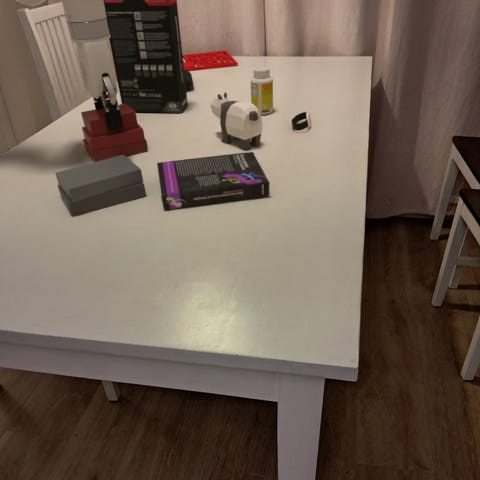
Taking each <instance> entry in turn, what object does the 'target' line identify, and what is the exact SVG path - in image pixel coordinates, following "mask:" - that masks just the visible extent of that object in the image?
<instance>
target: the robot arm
mask: <svg viewBox="0 0 480 480" xmlns="http://www.w3.org/2000/svg"><path fill="white" fill-rule="evenodd" d="M46 1H47V0H15V2H17V3H19V4H21V5H24V6H27V7H36V6H39V5H41V4H44V3H45V2H46ZM61 3H62V8H63V12H64V15H65V19H66V20H65V21H66V23H67V27H68V32H69V36H70V39H71V40H70V41H71V42H72V43H75V46H76V53H77V58H78V62H79V67H80V72H81V78H82V81H83V86H84V89H85V90H86V92H87V93H88V94H90V95H91V96H92V99H93V104H94V105H93V106H94V110H95V109H100V108H105V112H104V114H105V119H106V123H107V127H108V130H109V131H110V132H112V131H116V130H121V129H123V123H122V119H121V114H120V109H119V105H120V104H119V102H118V97H117V95H118V93H119V87H118V82H117V77H116V72H115V66H114V62H113V58H112V54H111V50H110V48H109V47H110V46H109V45H108V40H109V38H111V35H110V30H109V25H108V20H107V16H106V11H105V6H104V1H103V0H61Z"/></svg>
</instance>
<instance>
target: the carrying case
mask: <svg viewBox="0 0 480 480" xmlns="http://www.w3.org/2000/svg"><path fill="white" fill-rule="evenodd" d="M184 74H185V83H186V92H188V91H191V90H192V89H193V87H194V80H193V76H192V75H193V74H192V73H191V72H190V70H184Z"/></svg>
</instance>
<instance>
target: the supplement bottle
mask: <svg viewBox="0 0 480 480" xmlns="http://www.w3.org/2000/svg"><path fill="white" fill-rule="evenodd" d="M270 71H271V70H270V67H267V66H256V67H254V68H253V74H252V75H253V76H252V77H251V78H250V103H252V104H254V105H255V106H256V107H257V109H258V110H259V112H260V114H261V116H266V115H270V114H272V112H274V78H273V76H271V75H270V74H271V72H270Z"/></svg>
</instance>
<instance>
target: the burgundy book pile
mask: <svg viewBox="0 0 480 480" xmlns="http://www.w3.org/2000/svg"><path fill="white" fill-rule="evenodd" d="M81 130H82V134H83V139H82V143H83V146H84V150H85V152H86V153H87V154H88V155H89V157H90V158H91V159H92V161H93V163H94V162H97V161H101V160H105V159H109V158H112V157H116V156H120V155H125V156H126V157H128V156H133V155H138V154H142V153H146V152H149V147H148V142H147V139H146V138H145V132H144V128H143V127H142V126H141V125H140V124H139V123H138V128H135V129H130V130H126V131H121V132H116V133H112V134H107V135H103V136H98V137H93V136H92V135H91V134H90V133H89V132H88V131H87V130H86V128H85V126H81Z"/></svg>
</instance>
